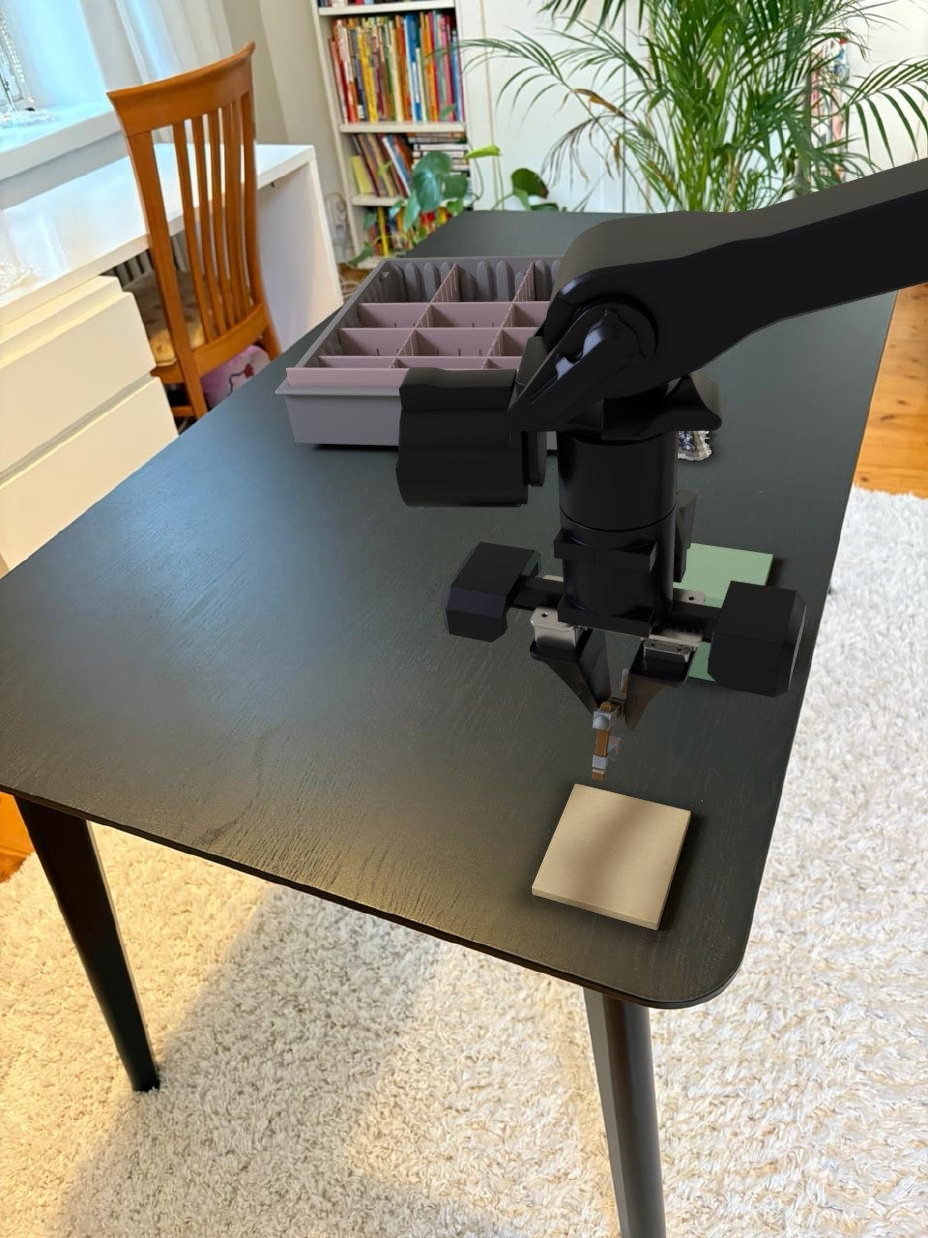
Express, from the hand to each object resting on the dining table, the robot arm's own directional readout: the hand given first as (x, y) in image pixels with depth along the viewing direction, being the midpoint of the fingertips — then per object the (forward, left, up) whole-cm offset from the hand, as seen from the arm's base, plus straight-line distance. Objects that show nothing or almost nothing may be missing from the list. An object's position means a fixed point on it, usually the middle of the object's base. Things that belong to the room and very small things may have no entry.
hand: (618, 722), depth 58 cm
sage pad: (-1, -29, -11) cm, 31 cm away
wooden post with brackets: (0, 0, -1) cm, 1 cm away
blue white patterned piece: (+7, -52, -11) cm, 53 cm away
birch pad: (0, +2, -11) cm, 11 cm away
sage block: (-2, -19, -11) cm, 21 cm away
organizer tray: (+36, -62, -11) cm, 72 cm away
